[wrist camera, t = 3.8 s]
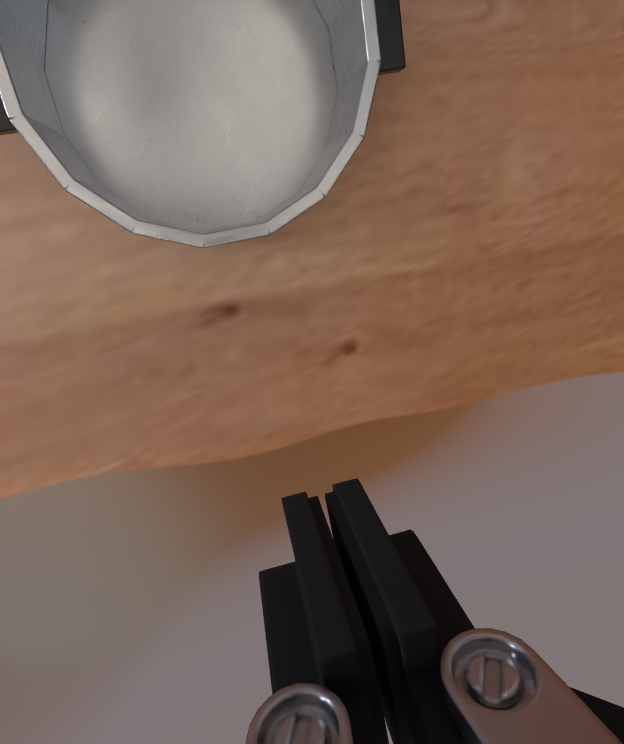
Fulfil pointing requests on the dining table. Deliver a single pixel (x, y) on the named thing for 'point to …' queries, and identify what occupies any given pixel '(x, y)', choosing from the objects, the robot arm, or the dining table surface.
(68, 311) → the dining table surface
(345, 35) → the steel pot
